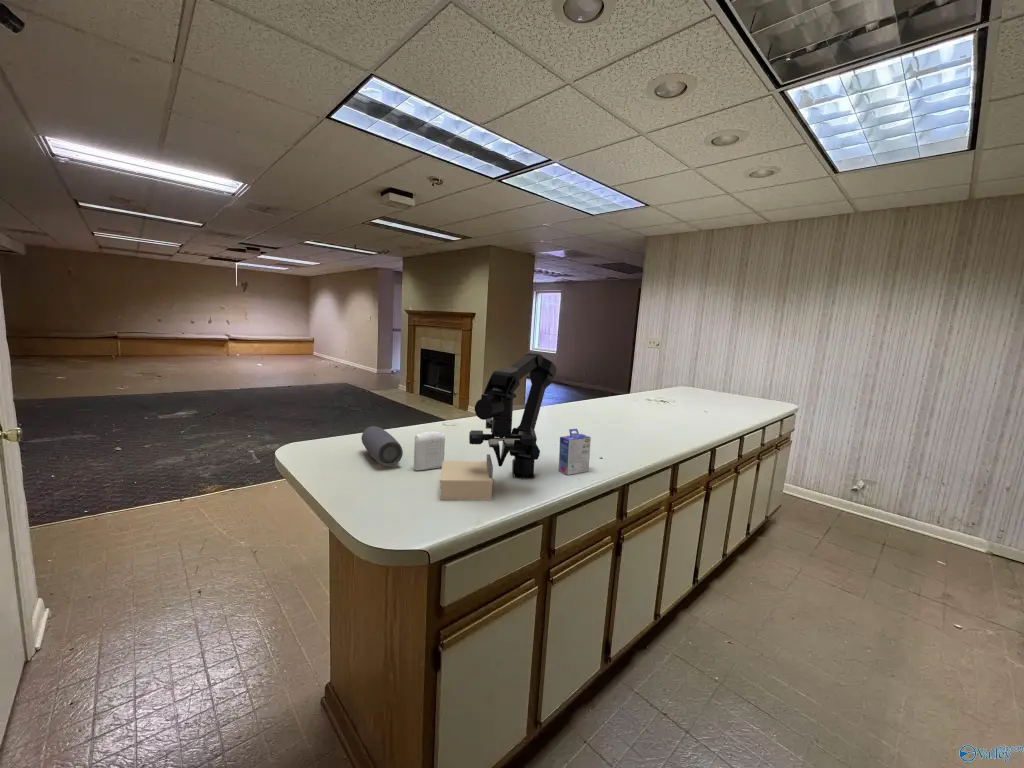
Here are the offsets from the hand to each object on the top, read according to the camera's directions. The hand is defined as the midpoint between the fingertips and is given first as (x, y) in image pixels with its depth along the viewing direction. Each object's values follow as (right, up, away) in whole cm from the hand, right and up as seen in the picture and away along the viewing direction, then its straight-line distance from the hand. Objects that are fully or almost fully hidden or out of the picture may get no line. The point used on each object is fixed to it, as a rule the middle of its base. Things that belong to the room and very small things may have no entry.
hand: (500, 465), depth 122 cm
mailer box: (-10, -7, 0) cm, 12 cm away
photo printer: (-24, -4, +16) cm, 29 cm away
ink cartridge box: (+25, -6, +20) cm, 32 cm away
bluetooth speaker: (-42, -2, +22) cm, 47 cm away
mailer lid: (-10, -2, -1) cm, 10 cm away
